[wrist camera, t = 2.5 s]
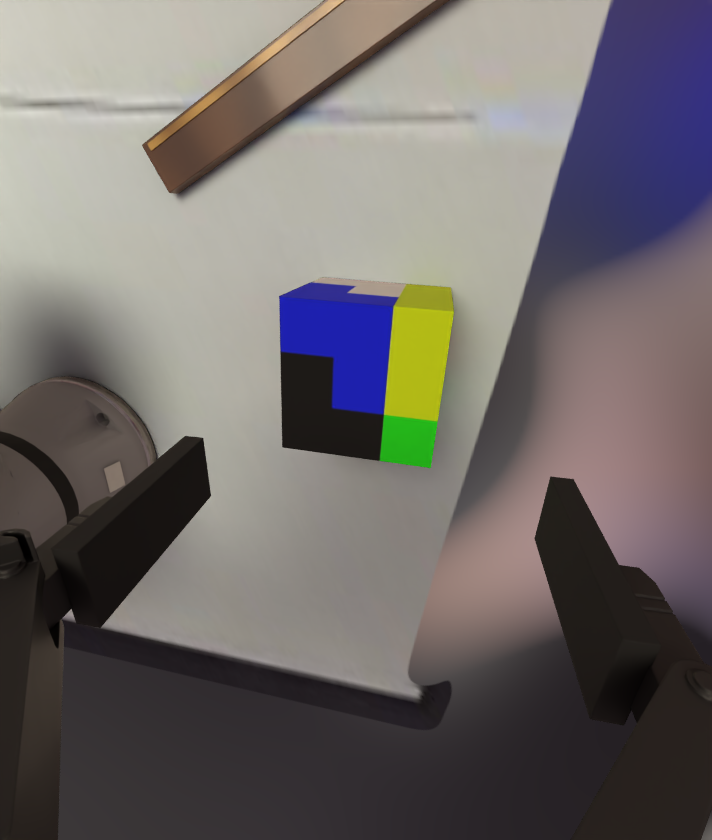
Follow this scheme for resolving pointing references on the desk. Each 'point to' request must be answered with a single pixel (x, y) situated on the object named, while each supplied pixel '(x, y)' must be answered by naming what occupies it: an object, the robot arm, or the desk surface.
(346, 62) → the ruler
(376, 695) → the desk surface
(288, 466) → the desk surface
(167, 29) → the desk surface
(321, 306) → the puzzle toy
